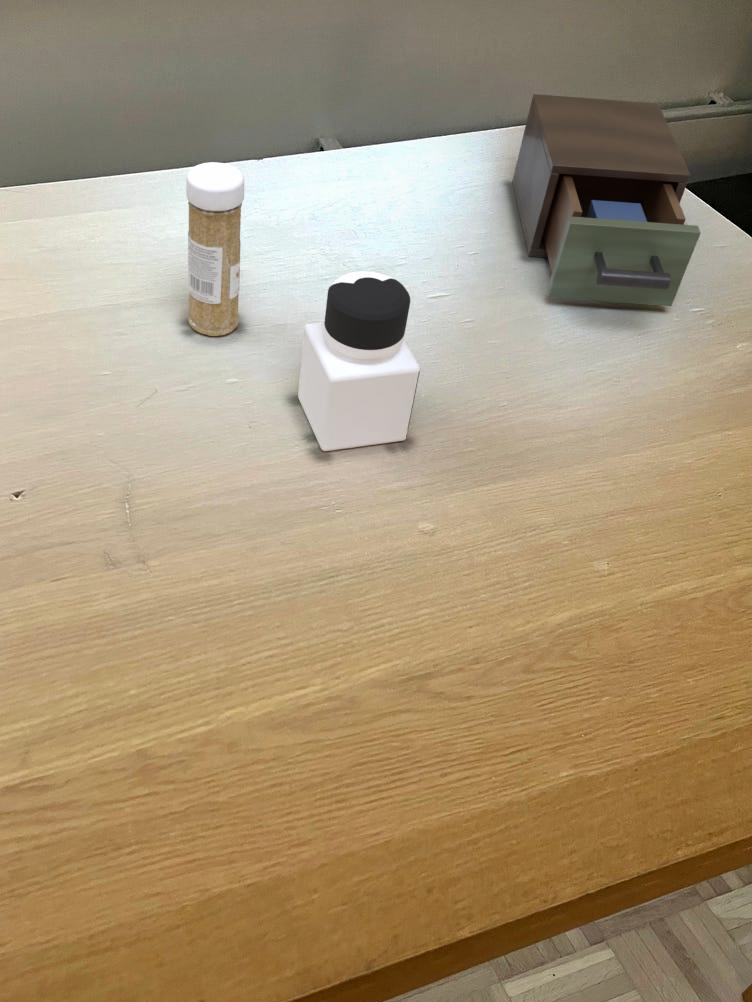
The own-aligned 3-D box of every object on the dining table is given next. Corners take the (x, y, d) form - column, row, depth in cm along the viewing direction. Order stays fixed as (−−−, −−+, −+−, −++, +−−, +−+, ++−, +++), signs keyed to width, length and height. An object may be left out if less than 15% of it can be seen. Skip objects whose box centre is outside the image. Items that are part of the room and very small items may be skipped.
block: (625, 249, 101) (640, 203, 97) (633, 275, 98) (650, 229, 94) (577, 245, 101) (591, 199, 97) (584, 272, 98) (599, 225, 94)
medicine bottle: (407, 442, 84) (434, 310, 75) (321, 453, 82) (338, 320, 73) (378, 387, 88) (400, 255, 79) (296, 397, 87) (309, 264, 77)
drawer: (681, 334, 94) (712, 259, 88) (554, 325, 94) (577, 249, 88) (643, 229, 105) (669, 157, 100) (530, 221, 105) (549, 148, 100)
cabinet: (656, 265, 103) (690, 175, 96) (528, 256, 103) (553, 164, 96) (629, 190, 112) (658, 103, 105) (511, 182, 112) (533, 93, 105)
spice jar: (249, 327, 93) (256, 178, 82) (207, 344, 91) (209, 194, 80) (217, 302, 95) (221, 154, 84) (176, 318, 93) (174, 169, 82)
